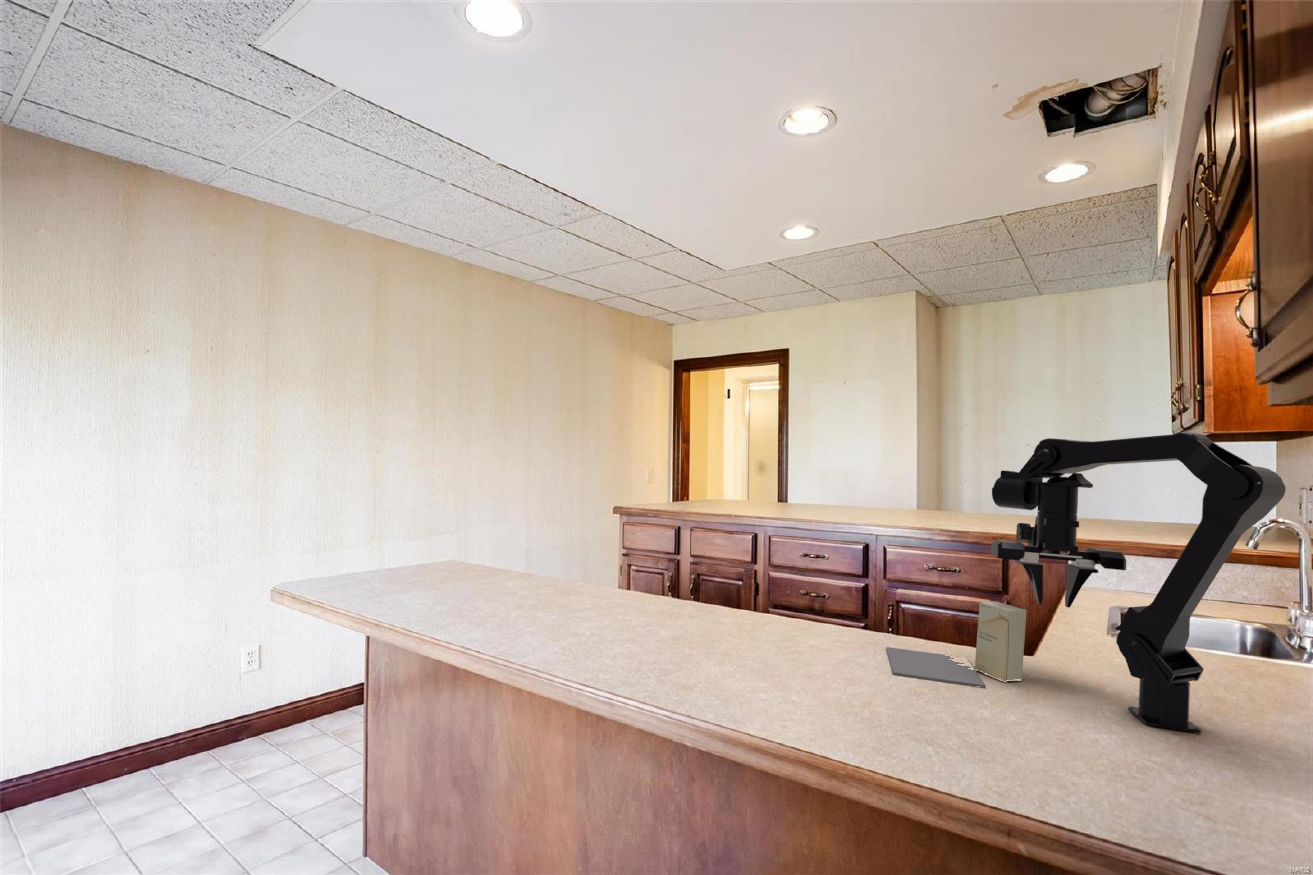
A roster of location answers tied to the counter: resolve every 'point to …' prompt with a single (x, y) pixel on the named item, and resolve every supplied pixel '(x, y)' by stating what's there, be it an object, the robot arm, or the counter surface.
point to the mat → (931, 667)
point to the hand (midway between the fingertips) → (1053, 605)
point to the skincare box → (1000, 640)
